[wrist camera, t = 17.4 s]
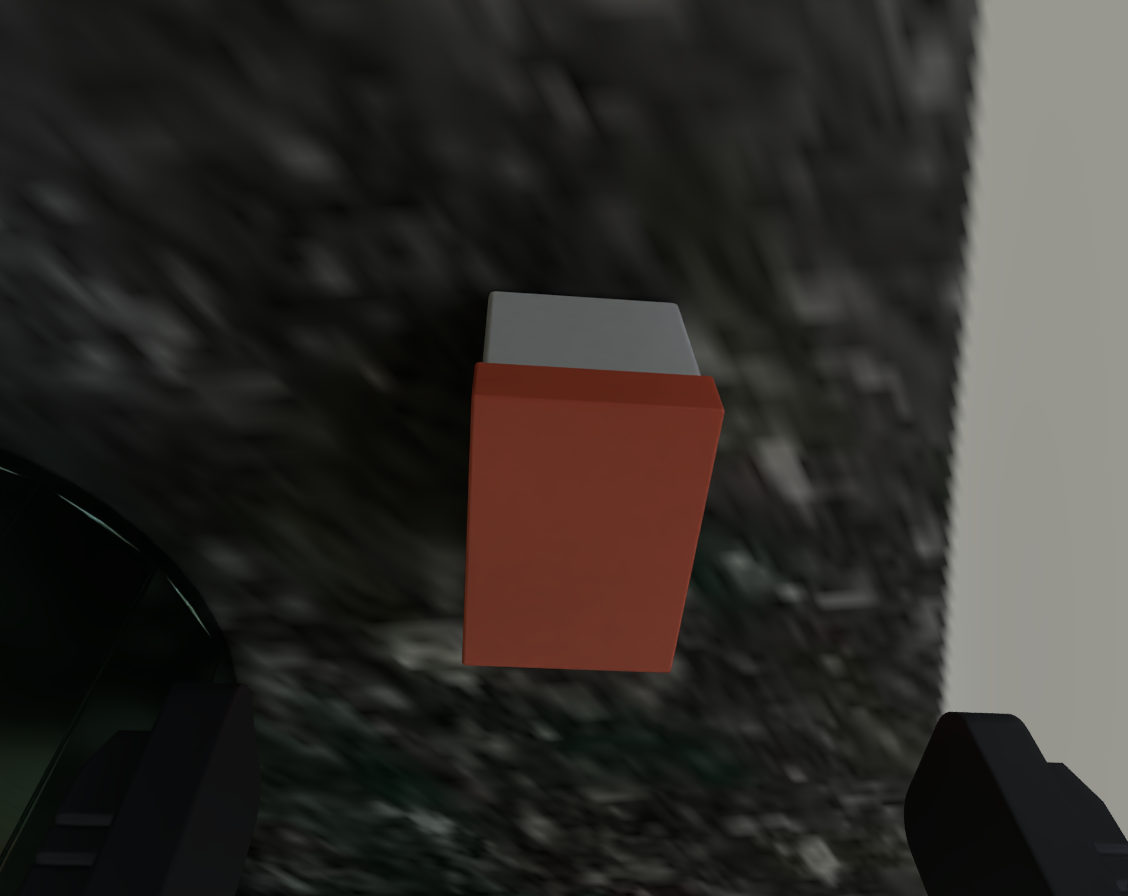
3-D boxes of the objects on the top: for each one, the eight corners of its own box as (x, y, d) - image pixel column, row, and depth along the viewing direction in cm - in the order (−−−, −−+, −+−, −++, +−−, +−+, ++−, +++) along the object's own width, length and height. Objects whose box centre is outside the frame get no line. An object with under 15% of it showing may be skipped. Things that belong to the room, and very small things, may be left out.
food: (483, 282, 15) (471, 395, 12) (685, 295, 16) (725, 409, 12) (473, 522, 18) (461, 666, 15) (645, 530, 18) (670, 674, 15)
